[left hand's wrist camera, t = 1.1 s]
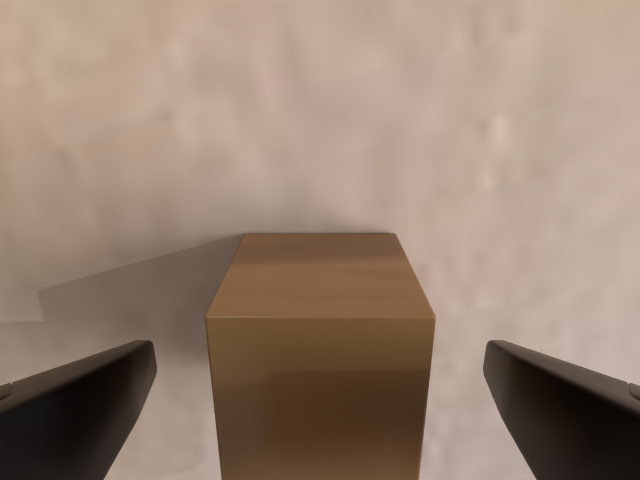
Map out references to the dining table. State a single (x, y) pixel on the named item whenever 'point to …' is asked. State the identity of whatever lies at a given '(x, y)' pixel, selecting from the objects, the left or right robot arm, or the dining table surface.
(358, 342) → the block
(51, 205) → the dining table surface
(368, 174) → the dining table surface
